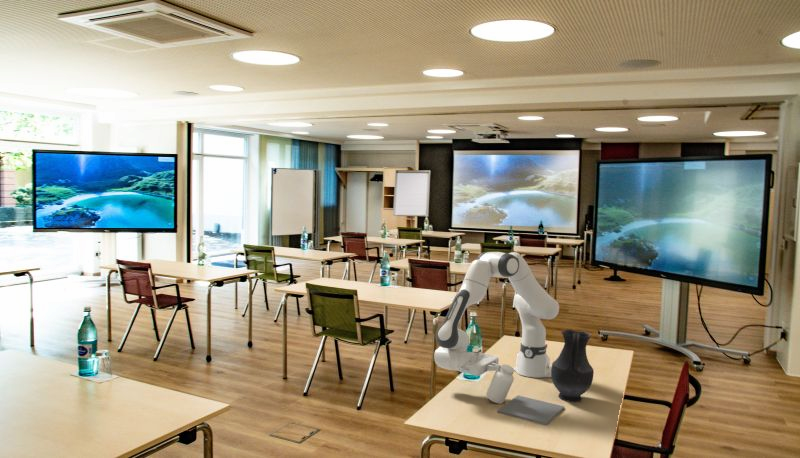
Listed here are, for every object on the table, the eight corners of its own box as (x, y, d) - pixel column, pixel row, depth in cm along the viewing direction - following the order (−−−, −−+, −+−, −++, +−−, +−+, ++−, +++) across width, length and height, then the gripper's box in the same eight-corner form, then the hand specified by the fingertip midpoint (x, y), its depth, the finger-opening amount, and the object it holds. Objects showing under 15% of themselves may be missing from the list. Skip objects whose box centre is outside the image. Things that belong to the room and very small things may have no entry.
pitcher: (590, 394, 261) (595, 327, 259) (592, 411, 241) (597, 338, 239) (550, 389, 266) (554, 322, 264) (548, 404, 246) (553, 333, 244)
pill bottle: (503, 406, 243) (517, 375, 239) (485, 399, 244) (498, 367, 240) (504, 397, 251) (517, 367, 247) (486, 390, 252) (499, 359, 248)
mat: (517, 397, 254) (517, 395, 254) (564, 408, 243) (564, 406, 243) (497, 412, 235) (497, 410, 235) (546, 425, 224) (546, 423, 224)
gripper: (458, 360, 244) (489, 366, 236) (479, 350, 261) (509, 355, 254) (458, 376, 244) (489, 382, 237) (479, 365, 261) (509, 370, 254)
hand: (500, 368), depth 245 cm, fingers closed, pressing on pill bottle
